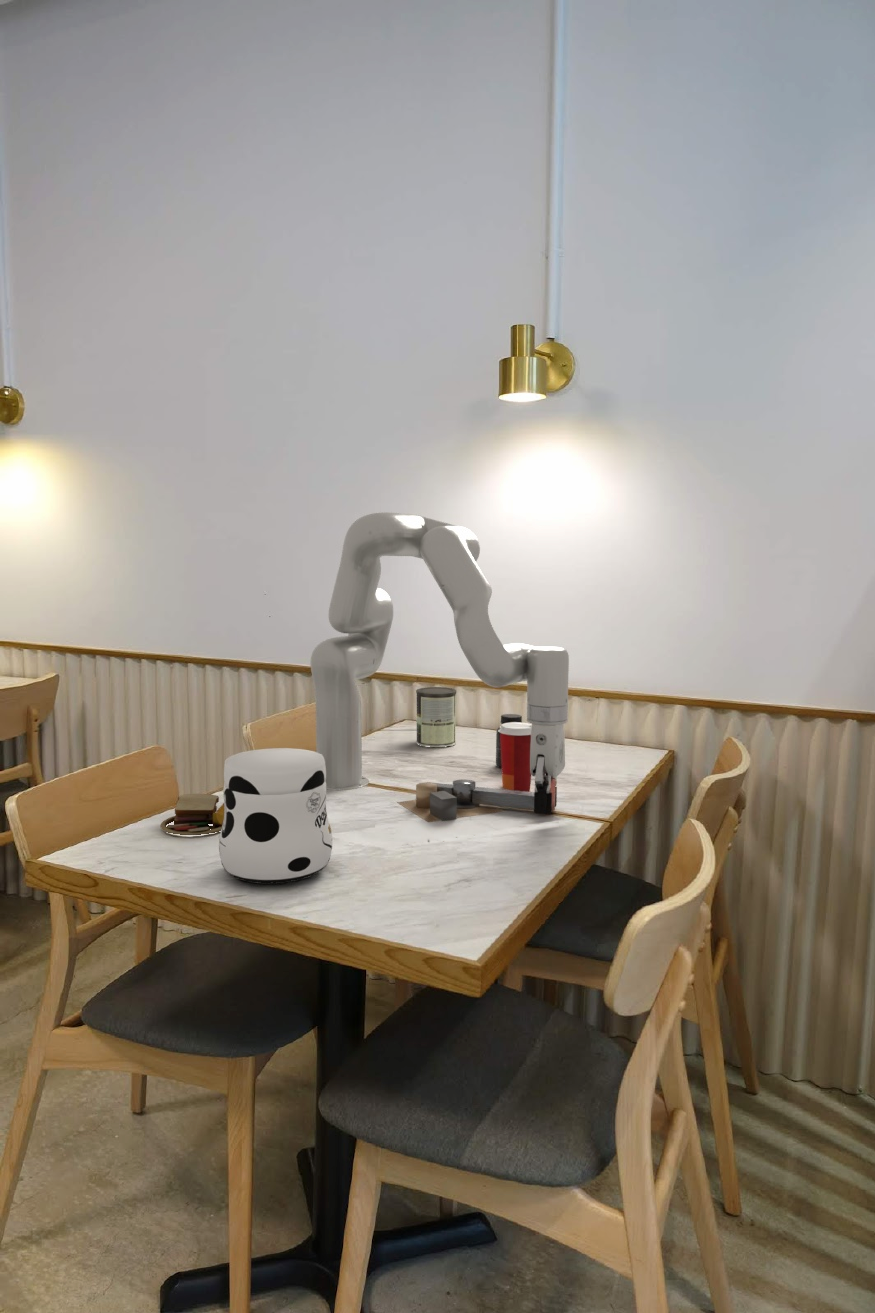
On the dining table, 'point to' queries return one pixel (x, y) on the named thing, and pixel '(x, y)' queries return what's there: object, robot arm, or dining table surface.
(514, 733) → the paper cup
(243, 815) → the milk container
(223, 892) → the dining table surface
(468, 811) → the base
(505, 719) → the supplement bottle
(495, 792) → the lever
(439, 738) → the coffee can
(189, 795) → the toy sandwich meal
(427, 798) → the cylinder
